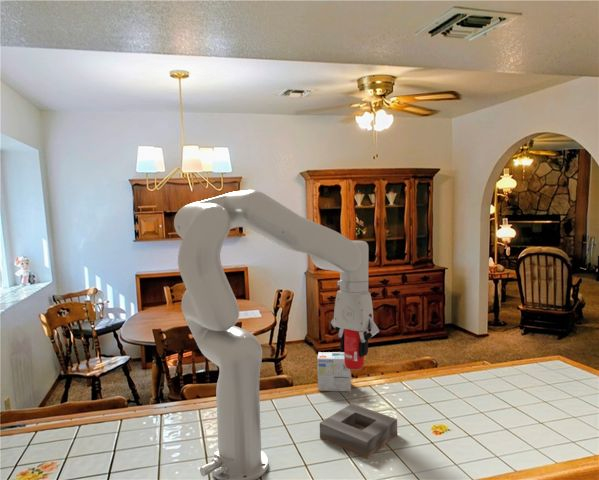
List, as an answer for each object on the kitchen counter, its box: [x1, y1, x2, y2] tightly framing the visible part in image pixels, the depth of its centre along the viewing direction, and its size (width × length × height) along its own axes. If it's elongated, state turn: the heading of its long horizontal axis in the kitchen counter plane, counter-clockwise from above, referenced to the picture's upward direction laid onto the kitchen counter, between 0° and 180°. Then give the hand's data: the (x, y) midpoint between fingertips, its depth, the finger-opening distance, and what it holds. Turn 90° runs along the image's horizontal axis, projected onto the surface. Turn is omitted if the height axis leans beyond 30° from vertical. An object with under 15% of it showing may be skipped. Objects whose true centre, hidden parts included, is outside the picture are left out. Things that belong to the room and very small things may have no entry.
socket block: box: [319, 403, 398, 459], centre depth 109 cm, size 14×14×4 cm
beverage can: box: [344, 329, 365, 371], centre depth 116 cm, size 5×5×12 cm
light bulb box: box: [316, 351, 352, 392], centre depth 139 cm, size 11×7×11 cm, turn 84°
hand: (353, 352), depth 116 cm, fingers closed on beverage can, 5 cm apart
